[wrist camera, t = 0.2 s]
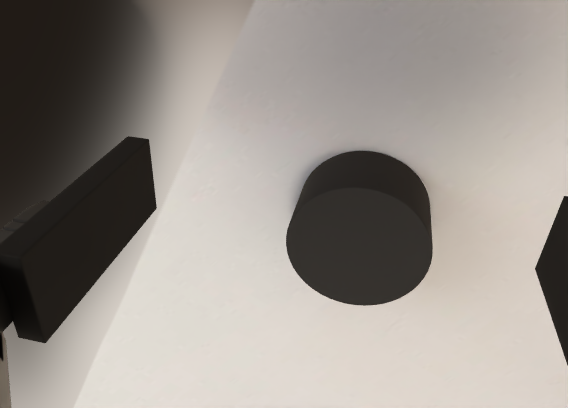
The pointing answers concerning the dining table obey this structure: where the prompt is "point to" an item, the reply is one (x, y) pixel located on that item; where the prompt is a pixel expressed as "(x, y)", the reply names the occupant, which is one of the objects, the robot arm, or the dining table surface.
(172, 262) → the dining table surface
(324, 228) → the puck
